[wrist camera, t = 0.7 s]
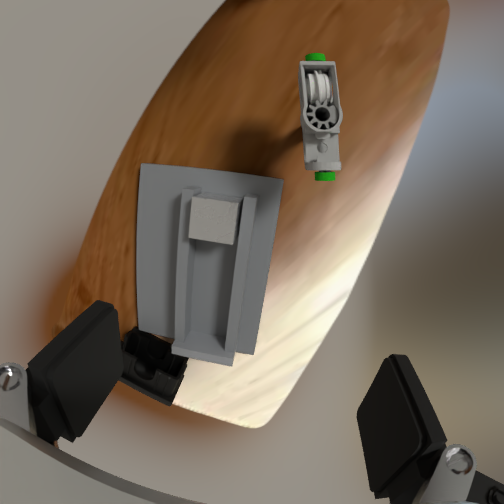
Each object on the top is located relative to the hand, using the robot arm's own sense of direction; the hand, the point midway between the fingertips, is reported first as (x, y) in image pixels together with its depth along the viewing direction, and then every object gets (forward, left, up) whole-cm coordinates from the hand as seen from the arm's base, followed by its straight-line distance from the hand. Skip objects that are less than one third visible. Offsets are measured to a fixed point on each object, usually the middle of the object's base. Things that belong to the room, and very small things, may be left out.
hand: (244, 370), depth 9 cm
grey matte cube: (0, -5, -23) cm, 24 cm away
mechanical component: (-11, +3, -24) cm, 27 cm away
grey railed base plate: (+6, -7, -24) cm, 26 cm away
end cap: (+22, -13, -25) cm, 36 cm away
